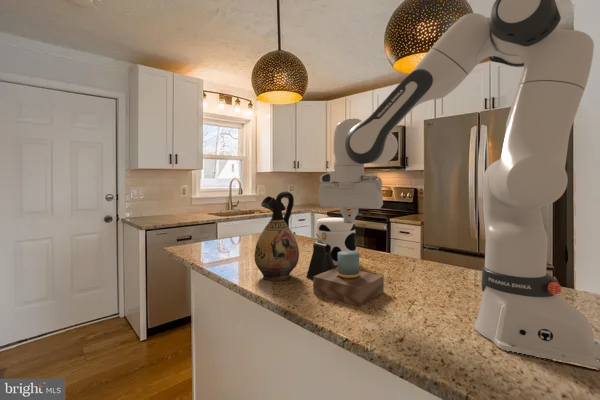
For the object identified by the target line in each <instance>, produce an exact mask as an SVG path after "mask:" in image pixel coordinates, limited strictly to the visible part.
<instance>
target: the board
mask: <svg viewBox="0 0 600 400" xmlns="http://www.w3.org/2000/svg"><path fill="white" fill-rule="evenodd" d="M384 279H385V276H384V275H380V274H377V273H373V272H372V273H371V272H366V271H362V270H359V276H358V277H356V278H355V279H354V280H348V279H343V278H342V277H340V276H338V267H335V268H334V269H331V270H329V271H326V272H324V273H321V274H319V275H316V276H313V280H312V284H313V285H312V291H313V292H312V293H313V294H316V295H319V296H323V297H326V298H330V299H333V300H336V301H340V302H344V303H347V304H351V305H354V306H357V307H362V306H363V305H365V304H367V303H368V302H370V301H372V300H373V299H375V298H377V297H379V295H381V294H383V293H384V285H385V284H384V282H385V281H384Z"/></svg>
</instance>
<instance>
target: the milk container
mask: <svg viewBox="0 0 600 400" xmlns="http://www.w3.org/2000/svg"><path fill="white" fill-rule="evenodd" d="M315 228H316V230H315V236H316V237H315V242H320V243H324V244H328V245H330V246H331V256H332V259H333V263H334V267H335V268H337V267H338V252H341V251H354V252H358V248H357V245H356V222H355V223H344V217H322V218H318V219H316V225H315Z"/></svg>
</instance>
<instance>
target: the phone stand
mask: <svg viewBox="0 0 600 400" xmlns="http://www.w3.org/2000/svg"><path fill="white" fill-rule="evenodd" d="M312 245H313V246H312V254H311V259H310V262H309V265H308V266H309V267H308V270H307V273H306V278H307V279H309V280H312V281H313V276H316V275H319V274H321V273H324V272H326V271H329V270H331V269H334V268H336V267H334V263H333V259H332V256H331V246H330V245H328V244H324V243H320V242H316V241H315V242H314V243H313V244H312Z"/></svg>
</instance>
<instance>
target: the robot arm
mask: <svg viewBox="0 0 600 400" xmlns="http://www.w3.org/2000/svg"><path fill="white" fill-rule="evenodd" d="M561 17H562V16H561V14H560V11H559V9H558V5H557V2H556V0H495V1H494V3H493V5H492V7H491V10H490V14H489V17H486V16H485V15H483V14H481V13H476V12H475V13H474V12H472V13H471V12H469V13H466V14H464V15H462V16H460V18H459V19H457V21H455V22H454V23H453V24H452V25H451V26H450V27H449V28H448V29H447V30H446V31H445V32H444V33H443V34H442V35H441V36H440V37H439V38H438V39H437V40H436V42H435V43H433V45H432V47H430V49H429V50H428V51H427V52H426V54H425V55H423V58H422V59H421V60H420V61H419V63H417V65H416V66H415V67H414V69H413V70H412V71H411V72H410V73H408V75H407V76H406V77H405V78H404V79H403V80H402V81H401V82H400V83H399V84H398V85H397V86H396V87H395V88H394V89H393V90H392V91H391V93H390V94H389V95H387V97H385V99H384V100H383V101H382V103H380V104H379V106H378V107H377V108H376V109H375V110H374V111H373V112H372V113H371V115H369V116H368V117H367V118H366V119H364V120H361V119H359V118H349V119H345V120H342V121H340V122H339V123H337V124H336V126H335V128H334V131H333V154H334V164H333V170H331V171H329V172H326V173H324V174H322V175H320V176H319V182H320V183H321V184H320V185H319V187H318V196H317V197H318V204H319V205H320V207H322V208H323V207H324V208H325V207H328V208H339V213H340V214H341V216H342V218H344V223H355V224H356V217H357V215H358V213H359V211H360V210H359V209H366V210H367V209H368V210H369V209H370V210H371V209H372V210H377V209H381V208H382V207H383V205H384V197H383V191H382V189H383V180H382V179H381V178H380V177H379V176H378V175H365V165H366V164H373V165H374V164H385V163H387V162H390V161H392V160H393V159H394V158H395V156H396V155H397V153H398V150H399V143H398V138H397V137H396V136H395V134H394V133H392V131H393V130H394V129H395V128H396V127H397V126H398V125H399V124H400V123H401V122H402V120H403V119H404V118H406V117H407V115H408V114H410V112H411V111H412V110H413V109H414V108H416V107H418V106H419V105H420V104H423V103H424V102H428V101H433V100H440V99H442V98H446V97H447V96H448V95H450V93H452V92H453V91H454V90H455V89H456V88H457V87H459V85H461V83H463V81H464V80H465V79H466V78H467V76H469V74H470V73H471V72H472V71H473V70H474V69H475V67H477V65H478V64H479V63H480V62H482V61H483V60H486V59H487V58H489V61H491V62H492V63H499V64H502V65H503V64H504V65H506V66H509V67H513V68H514V67H515V68H522V69H523V70H522V74H521V76H520V81H519V82H518V86H517V88H516V92H515V95H514V98H513V101H512V104H511V107H510V110H509V113H508V117H507V119H506V123H505V133H504V139H503V145H502V151H501V155H500V158H499V159H497V160H495V161H493V162H492V163H491V164H490V165H488V166H487V168H486V170H485V171H484V173H483V176H482V179H481V180H482V181H481V182H482V199H483V200H482V201H483V217H484V224H485V246H484V249H485V251H484V252H485V253H484V265H483V266H482V269H481V278H480V279H481V280H480V281H481V291H482V296H481V300H480V307H479V310H478V313H477V317H476V320H475V322H474V323H473V324H474V328H475V330H476V331H477V332H478V334H480V335H482V336H484V338H486V339H488V340H490V341H492V342H493V344H494V345H496V346H497V347H498V348H501V350H502V351H505V350H506V351H505V352H509V351H512V352H511V353H514V352H517V353H516V354H518V353H522V354H521V355H523V354H527V355H533V356H539V357H545V358H549V359H556V360H561V361H565V362H573V363H577V364H581V365H587V366H590V367H595V368H600V340H599V339H597V338H595V335H594V331H593V329H592V326H591V323H590V321H589V320H588V318H587V316H586V315H585V314H583V312H581V311H580V310H579V309H577V308H576V307H575V306H573V305H572V304H570V303H569V302H568V301H567V300H566V299H564V298H563V297H562V296H560V293H561V291H562V289H561V288H562V286H561V285H560V283H559V281H558V279H557V278H556V276H551V275H550V274H548V273H547V263H548V245H549V244H548V241H549V240H548V239H549V238H548V235H547V232H546V229H545V225H544V221H543V215H542V210H541V208H543V207H546V206H549V205H551V204H552V203H555V202H556V201H558V199H560V198H561V197H562V196H563V194H564V193H565V191H566V189H567V187H568V182H569V181H568V180H569V179H568V174H567V171H566V165H567V164H566V163H567V157H568V149H569V141H570V135H571V130H572V126H573V123H574V121H575V118H576V115H577V113H578V110H579V107H580V103H581V101H582V98H583V96H584V92H585V89H586V87H587V84H588V81H589V77H590V72H591V68H592V64H593V56H594V48H595V46H594V45H595V44H594V40H593V38H592V37H591V36H590V35H589V34H587V33H586V32H583V31H580V30H576V29H563V28H561V27H559V26H560V25H559V23H560V21H561V19H562V18H561ZM349 208H350V212H351V214H350V216H349V215H348V212H347V211H348V210H349ZM527 355H526V356H527ZM597 360H599V361H597Z"/></svg>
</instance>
